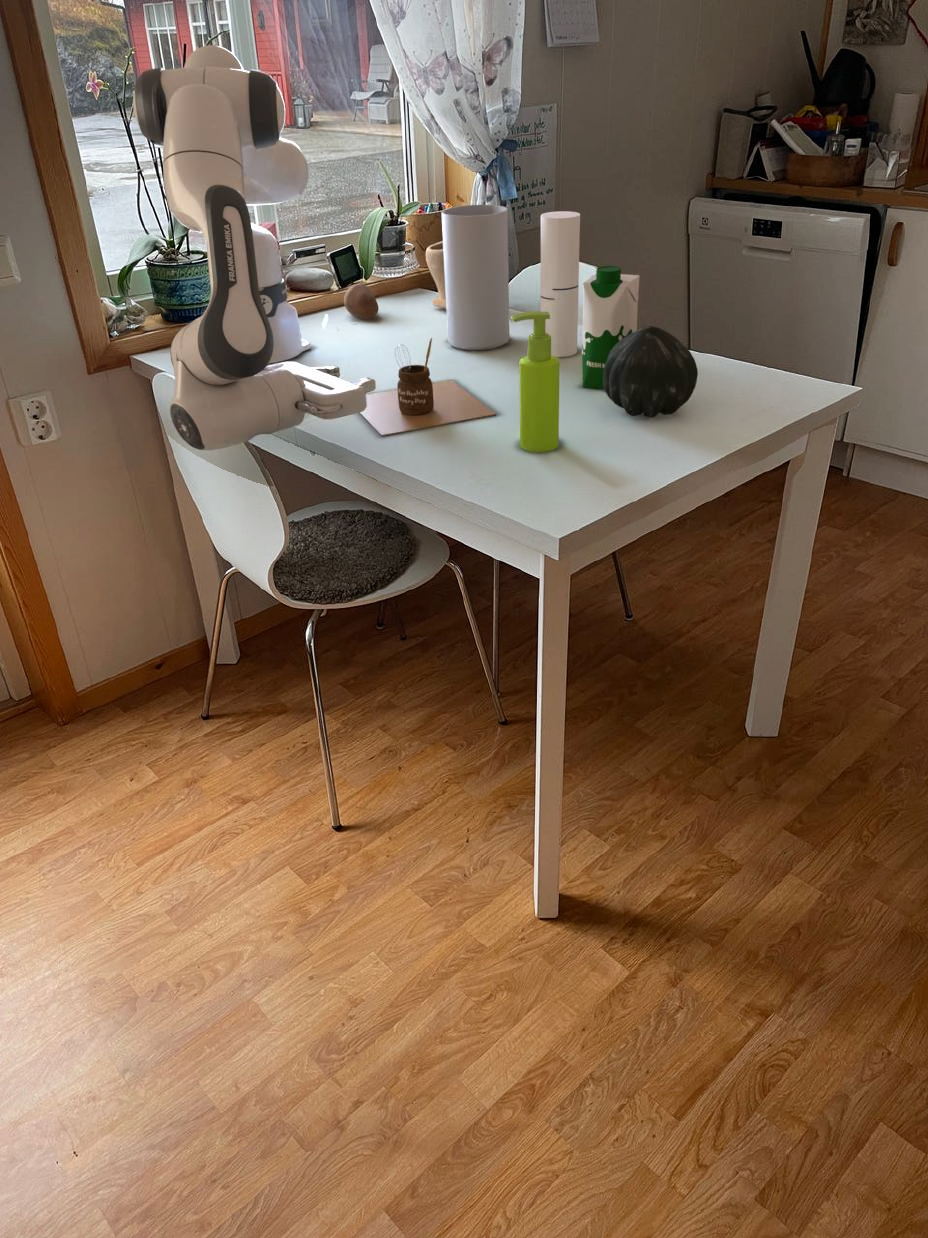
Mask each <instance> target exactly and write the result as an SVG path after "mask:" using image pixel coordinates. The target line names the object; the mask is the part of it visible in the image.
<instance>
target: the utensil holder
mask: <svg viewBox="0 0 928 1238" xmlns="http://www.w3.org/2000/svg"><path fill="white" fill-rule="evenodd" d="M432 341H433V337H431V338H430V339H429V341H428V347H427V351H426V356H425V362H424V365H422V364H412V363H411V362H412V361H411V358H407V356H406V355H407V354H408V357H411V356H410V352H409V349H408V348H407V347H405V345H404V344H398V345H397V346H396V347H395V349H394V350H396V352H398V356H399V357H402V356H401V354H400V353H401V351H400V350H401V349H402V354H404V355H403V356H404V357H403V358H405V360H404V361H405V362H406V363H408V362H409V363H408V364H405V365H404V363H403V360H402V358H400V361H401V362H400V363H401V365H402V366H401V365H400V363H399V361H398V358H397V357H398V356H397V354H394V357H395V359H396V363H397V365H398V366H399V370H398V375H397V376H398V381H397V387H396V389H398V402H399V409H400V411H401V412H402V413H403V414H406V415H423V414H427V413H429V412H431V411H432V410H433V407H434V399H433V386H432V383H433V381H432V378H430V376H431V372H430V368H429V367H428V362H429V358H430V354H431V348H432V343H433V342H432ZM399 347H401V349H399ZM404 347H405V348H404ZM405 349H406V350H405ZM406 352H407V354H406ZM407 359H408V360H409V361H408V360H407Z"/></svg>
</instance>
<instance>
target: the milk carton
mask: <svg viewBox="0 0 928 1238" xmlns="http://www.w3.org/2000/svg"><path fill="white" fill-rule="evenodd" d="M595 271H596V272H595V274H594V275H591V276H590V277H589V278H587V279H586V280H585V281H584V282H582V290H583V291H582V302H583V303H582V304H583V305H582V337H581V338H582V341H581V342H582V345H581V371H582V375H581V376H582V388H587V389H588V388H589V389H596V390H597V389H598V390H605V389H604V384H603V373H604V367H605V364H606V361H607V358H608V355H609V353H610V351H611V350H612V349H613V347H614V346H615V345H616V344H617V343H618V342H619V341H620V340H622V339H623V338H625V337H626V336H628V335H629V334H631V333H633V332H635V331H637V330H638V327H637V326H638V312H639V311H638V309H639V308H638V305H639V289H640V277H641V276H640V275H639V274H626V273H622V268H621V267H619V266H617V265H602V266H599V267H597V268H596V269H595Z"/></svg>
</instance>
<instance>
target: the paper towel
mask: <svg viewBox="0 0 928 1238" xmlns="http://www.w3.org/2000/svg"><path fill="white" fill-rule="evenodd" d="M432 386H433V399H434V407H433V410H432V411H431V412H429V413H427V414H423V415H406V414H403V413H402V412H401V411H400V409H399V402H398V389H397V388H396V389H391V390H386V391H380V392H373V393H367V394H366V401H367V407H366V409H365V410H364V411H362V412H360V413H359V415H361V416H362V417H363V419H365V420H366V421H367V422H368V424H370V426H371V427H372V428H373V429H374V430H375V431H376V432H377V433H378V434H379V435H380V436H381V437H386V436H392V435H396V434H402V433H406V432H412V431H419V430H423V429H428V428H435V427H439V426H445V425H450V424H456V423H460V422H465V421H471V420H477V419H481V418H486V417H492V416H496V415H497V413H496V412H495V411H493V410H492V409H491V408H489V407H488V406H486V405H485V404H484V403H483V402H481V401H480V400H479V399H477V398H476V397H475V396H473V395H472V394H470V393H469V392H468V391H467V390H465V389H464V388H463V387H462V386H460V385H459V384H458V383H456V382H455V381H453V379H449V380H443V381H437V382H432Z"/></svg>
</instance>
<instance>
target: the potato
mask: <svg viewBox="0 0 928 1238" xmlns="http://www.w3.org/2000/svg"><path fill="white" fill-rule="evenodd" d="M343 304H344V307H345V309H346V310H347V312H348V313H349V314H350V315H352V316H354V317H357V318H358V319H364V320H368V319H372V318H374V317H375V316H377V315H378V313H379V303H378V301H377V299H376V297H374V293H373V292H372V290H371V289H370V287H369V286H367V285H365V284H363V283H357V284H353V285H350V286H349V288H348V289H347V290H346V291H345V293H344V295H343Z"/></svg>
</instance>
